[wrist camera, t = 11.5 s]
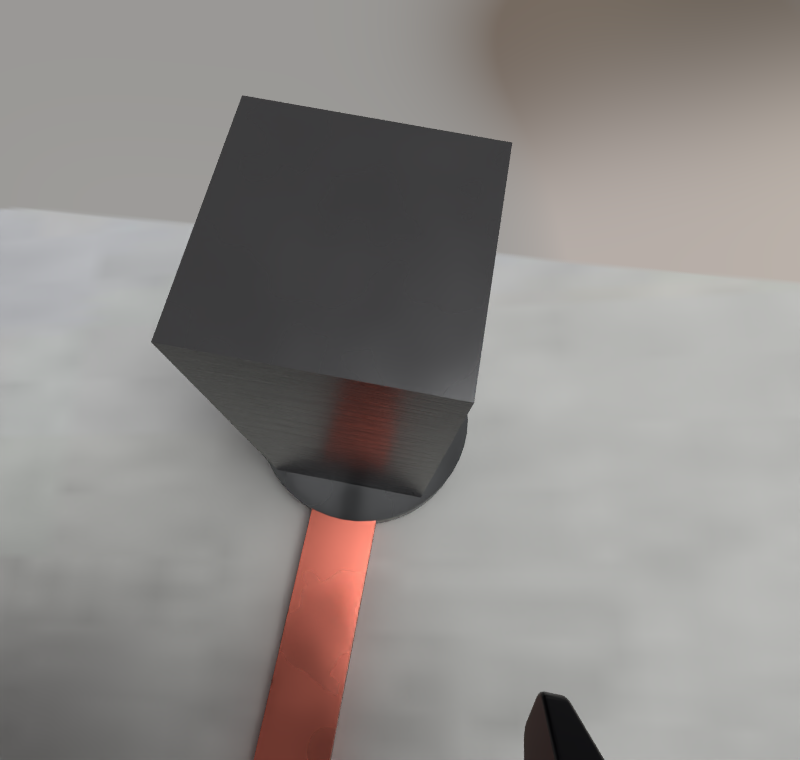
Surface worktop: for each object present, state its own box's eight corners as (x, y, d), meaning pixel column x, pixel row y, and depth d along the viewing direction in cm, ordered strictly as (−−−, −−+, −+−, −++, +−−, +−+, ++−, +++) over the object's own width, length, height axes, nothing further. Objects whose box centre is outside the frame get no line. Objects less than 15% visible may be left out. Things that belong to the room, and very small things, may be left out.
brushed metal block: (420, 497, 20) (473, 402, 9) (277, 469, 20) (151, 341, 9) (443, 363, 22) (512, 142, 11) (312, 338, 22) (242, 95, 11)
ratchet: (402, 838, 18) (408, 908, 14) (165, 788, 18) (110, 845, 14) (474, 353, 24) (492, 312, 20) (294, 320, 24) (278, 273, 20)
